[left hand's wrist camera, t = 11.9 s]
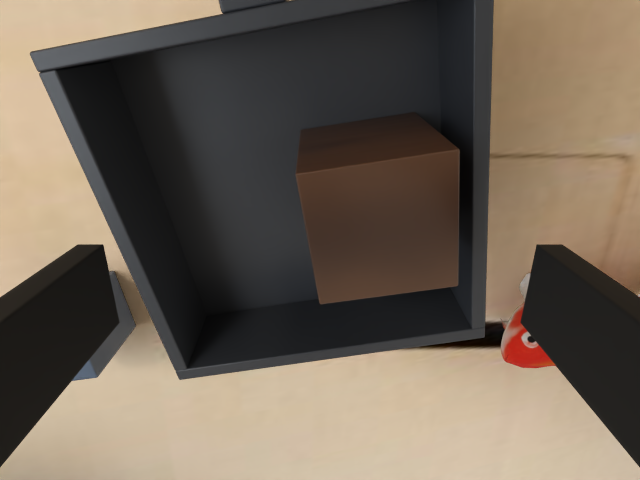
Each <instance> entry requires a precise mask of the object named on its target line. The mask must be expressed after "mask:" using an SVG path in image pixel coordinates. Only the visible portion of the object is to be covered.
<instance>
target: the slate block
mask: <svg viewBox="0 0 640 480" xmlns="http://www.w3.org/2000/svg"><path fill="white" fill-rule="evenodd" d="M109 274H110V279H111V284H112V289H113V293H114V298H115V303H116V307H117V312H118V317H119V322H120V323H119V324H118V325H117V326H116V328H115V329H114V330H113V331H112V332H111V334H110V335H109V336H108V337H107V339H106V340H105V341H104V342H103V343H102V345H101V346H100V347H99V348H98V349H97V351H96V352H95V353H94V354H93V355H92V357H91V358H90V359H89V360H88V362H87V363H86V364H85V365H84V366H83V368H82V369H81V370H80V371H79V372H78V374H77V375H76V376H75V377H74V379H73V380H72V381H75V380H82V379H90V378H97V377H98V376H99V375H100V373H101V372H102V371H103V369H104V368H105V367H106V365H107V364H108V363H109V361H110V360H111V359H112V357H113V356H114V355H115V353H116V352H117V351H118V349H119V348H120V347H121V345H122V344H123V343H124V341H125V340H126V339H127V337H128V336H129V335H130V333H131V332H132V331H133V329H134V328H135V327H136V325H135V322H134V320H133V317H132V315H131V312H130V310H129V307H128V305H127V302H126V300H125V297H124V295H123V292H122V290H121V287H120V284H119V282H118V279H117V277H116V274H115V272H114V271H111V272H109Z"/></svg>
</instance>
